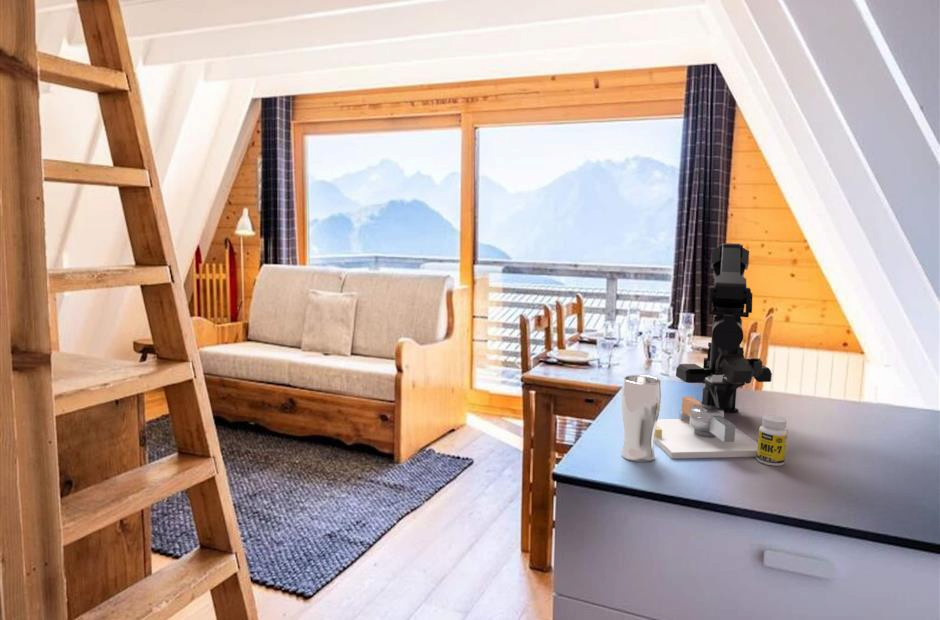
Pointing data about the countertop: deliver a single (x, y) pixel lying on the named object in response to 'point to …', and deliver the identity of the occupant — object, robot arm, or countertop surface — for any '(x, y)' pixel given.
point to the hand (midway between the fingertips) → (720, 411)
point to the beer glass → (640, 416)
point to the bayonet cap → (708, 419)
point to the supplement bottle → (772, 440)
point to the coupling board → (699, 441)
